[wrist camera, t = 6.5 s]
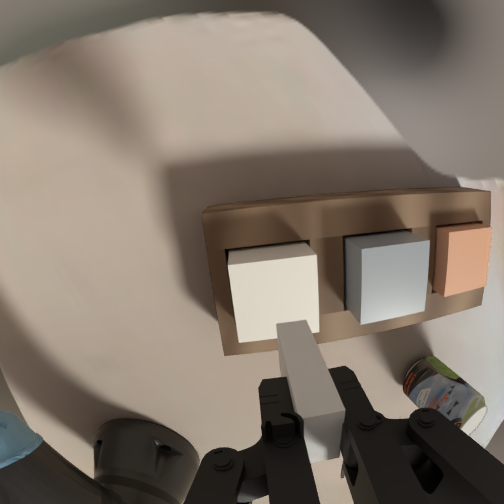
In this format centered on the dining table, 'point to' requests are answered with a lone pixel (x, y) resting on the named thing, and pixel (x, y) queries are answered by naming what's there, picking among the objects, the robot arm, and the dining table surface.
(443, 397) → the beverage can
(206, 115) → the dining table surface
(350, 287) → the slate key
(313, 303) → the offwhite key
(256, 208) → the console
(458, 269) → the terracotta key
